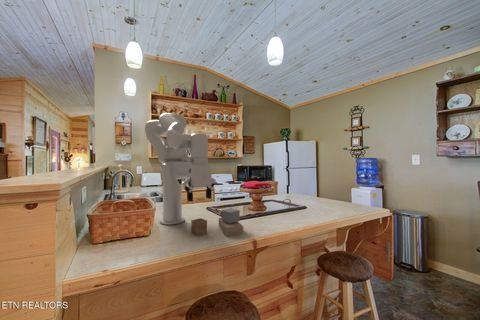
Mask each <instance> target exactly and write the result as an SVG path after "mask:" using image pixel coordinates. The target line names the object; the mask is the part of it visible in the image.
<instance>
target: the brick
mask: <svg viewBox="0 0 480 320" xmlns="http://www.w3.org/2000/svg"><path fill="white" fill-rule="evenodd" d="M218 228H219V229H220V230H221V232H222V233H223V234H224V236H225V237H235V236H236V237H238V236H239V237H240V236H243V235H244V226H243V225H242V224H241V223H240V221H238V222H234V223H227V222H224V221H222V217H218Z"/></svg>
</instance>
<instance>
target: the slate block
mask: <svg viewBox="0 0 480 320" xmlns="http://www.w3.org/2000/svg"><path fill="white" fill-rule="evenodd" d="M240 213H241V211H240V210H239V209H236V208H232V207H231V208H226V209H222V210H221V218H222V221H224V222H227V223H234V222H240V220H241V219H240V216H241V215H240Z"/></svg>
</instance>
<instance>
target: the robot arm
mask: <svg viewBox="0 0 480 320" xmlns="http://www.w3.org/2000/svg"><path fill="white" fill-rule="evenodd" d="M187 122H188V121H187V118H186V117H185V115H184V114H183V115H182V114H178V113H171V112H164V113H162V114H161V115H160V116H159V117H158V119H151V120H149V121H147V122H146V123H145V127H144V133H145V136H146V139H147V140H148V142H149V144H151V146H152V147H153V150H154V152H155V155H156V158H157V160H158V161H159V163H161V164H162V165H161V167H160V174H161V181H162V212H161V213H162V218H160V219H159V223H160V224H161V225H166V226H167V225H172V226H173V225H178V224H182V223H184V221H185V220H186V218H185V217H184V216H183V215H182V213H183V212H182V210H183V208H182V207H183V201H182V200H183V199H182V198H183V197H182V196H183V194H182V193H183V192H182V189H184V191H185V192H186V194H187V195H186V199H187V202H192V203H193V202H194V193H193V191H194V189H195V188H196V189H198V188H206V189H205V198H206V199H210V200H211V199H212V190H213V188H214V186H215V184H216V181H217V180H216V179H215V178H214V177H212V169H211V165H210V164H209V157H208V156H209V151H208V149H209V148H208V147H209V144H208V141H209V140H208V138H209V136H208V134H206V133H203V132H202V133H201V132H200V133H199V132H198V133H197V132H196V133H191V134H188V133H185V128H186V127H187ZM163 136H165V137H166V138H164V137H163ZM187 151H190V156H189V154H188V152H187ZM184 179H185V180H184ZM178 180H183V181H182V182H181V183H180V182H179V181H178Z"/></svg>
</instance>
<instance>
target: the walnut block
mask: <svg viewBox="0 0 480 320" xmlns="http://www.w3.org/2000/svg"><path fill="white" fill-rule="evenodd" d="M190 224H191V225H190V226H191V227H190V233H191V235H194V236H196V237H200V236H201V237H202V236H204V235H206V234H207V233H208V220H207V219H204V218H202V217H200V218H199V217H198V218H196V219H193V220H191V223H190ZM207 235H208V234H207Z"/></svg>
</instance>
